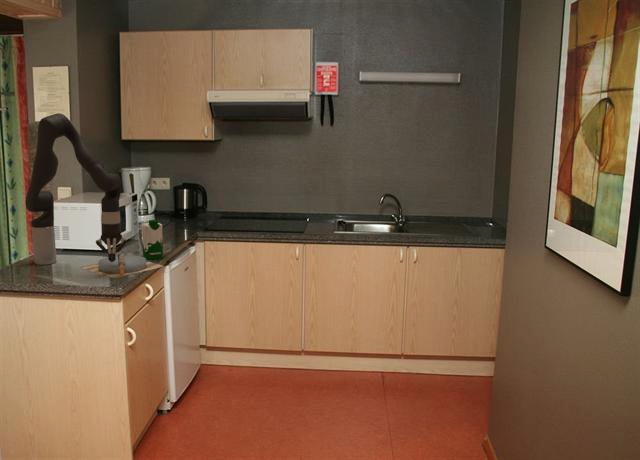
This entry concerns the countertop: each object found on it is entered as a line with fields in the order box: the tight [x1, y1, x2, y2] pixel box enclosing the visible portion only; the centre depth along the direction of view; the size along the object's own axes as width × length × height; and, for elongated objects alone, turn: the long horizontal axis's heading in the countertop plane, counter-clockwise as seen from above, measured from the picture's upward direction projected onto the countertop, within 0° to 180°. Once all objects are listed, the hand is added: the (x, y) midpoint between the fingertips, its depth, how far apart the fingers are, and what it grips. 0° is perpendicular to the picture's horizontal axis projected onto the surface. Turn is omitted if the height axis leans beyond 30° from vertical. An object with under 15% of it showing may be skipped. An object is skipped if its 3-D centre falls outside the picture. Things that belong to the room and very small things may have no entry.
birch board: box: [79, 260, 166, 279], centre depth 243 cm, size 26×26×6 cm
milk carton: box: [141, 219, 164, 261], centre depth 259 cm, size 9×9×20 cm
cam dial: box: [97, 252, 147, 273], centre depth 241 cm, size 20×20×8 cm
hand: (112, 261), depth 231 cm, fingers closed
